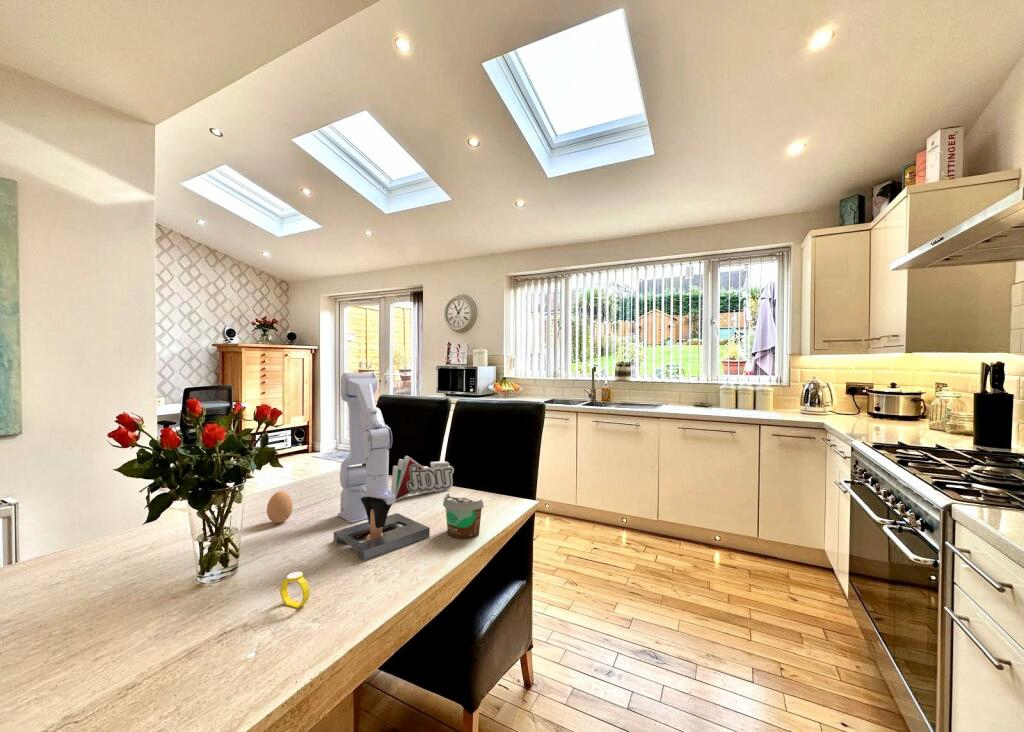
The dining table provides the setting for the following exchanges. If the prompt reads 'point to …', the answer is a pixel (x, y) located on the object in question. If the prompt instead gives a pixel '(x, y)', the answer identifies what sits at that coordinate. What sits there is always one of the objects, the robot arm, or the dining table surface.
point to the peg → (373, 528)
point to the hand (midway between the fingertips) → (376, 525)
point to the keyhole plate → (388, 541)
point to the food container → (462, 517)
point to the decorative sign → (420, 477)
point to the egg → (279, 507)
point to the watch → (304, 586)
